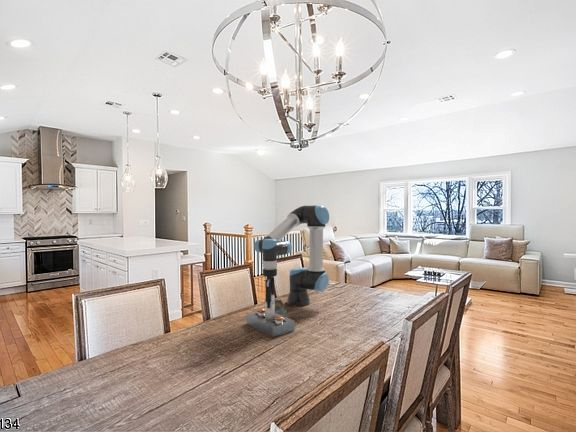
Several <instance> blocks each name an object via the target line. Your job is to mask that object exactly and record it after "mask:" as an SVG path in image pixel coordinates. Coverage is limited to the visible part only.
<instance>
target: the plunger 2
mask: <svg viewBox="0 0 576 432" xmlns="http://www.w3.org/2000/svg"><path fill="white" fill-rule="evenodd" d="M274 319H275V324H280V323H283V319H284V316H282V315H276V316H274Z"/></svg>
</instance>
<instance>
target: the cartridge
mask: <svg viewBox="0 0 576 432" xmlns="http://www.w3.org/2000/svg"><path fill="white" fill-rule="evenodd" d="M265 300H266V294H264V303H265V304H264V305H265V307H264V308H265V319H266V320H268V321H269V320H273V319H274V316H275V300H276V296H275V294H274V295H273V294H272V293H271V301H272V314H266V302H265Z"/></svg>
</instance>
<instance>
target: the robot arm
mask: <svg viewBox="0 0 576 432" xmlns="http://www.w3.org/2000/svg"><path fill="white" fill-rule="evenodd" d="M329 220H330V213H329V210H328V208H327V207H326V206H324V205H319V204H317V205H302V206H301V205H300V206H299V207H297V208H295V209H293V210H292V211H291V212H290V213H288V214H287V216H286V218H285V219H284V220H283V221H282V222H280V224H278V225H277V226H276V227H275V228H273V230H272V231H270V232H269V234H267V235H266V236H265V237H263V239H262V238H261V239H257V240H255V242H254V243H253V247H254V250H255V252H257V253H261V254H262V261H261V264H262V268H263V269H262V276H263V277H266V279H265V284H264V286H265V295H266V300H265V299H264V303H265V302H266V314H272V301H271V293H272V294H273V295H275V278H274V277H276V276H277V275H278V269H277V267H278V259H277V258H278V256H282V255H284V256H285V255H288V254H290V253H291V252H292V248H293V247H292V243H291V242H290V241H288V240H283V239H284V237H286V236H287V234H288V233H290V232H291V231H292V230H294V228H296V227H299V226H300V225H301V224H306V227H307V228H308V230H309V243H308V244H309V250H308V251H309V252H308V253H309V262H308V263H309V265H308V266H309V267H297V268H292V269H290V271H289V292H288V296H287V299H286V303H287V305H290V306H292V307H305V306H308V305H310V304H311V300H310V296H309V293H308V290H310V291H315V292H324V291H325V290H326V289H327V287H328V285H329V281H330V277H329V274H328V273H326V268H325V267H323V266H324V265H323V264H324V229H325V228H326V225H327V224H328V223H329Z"/></svg>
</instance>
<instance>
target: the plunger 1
mask: <svg viewBox="0 0 576 432" xmlns="http://www.w3.org/2000/svg"><path fill="white" fill-rule="evenodd" d="M256 312H258V316H261V315H265V307H257V308H256Z"/></svg>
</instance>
